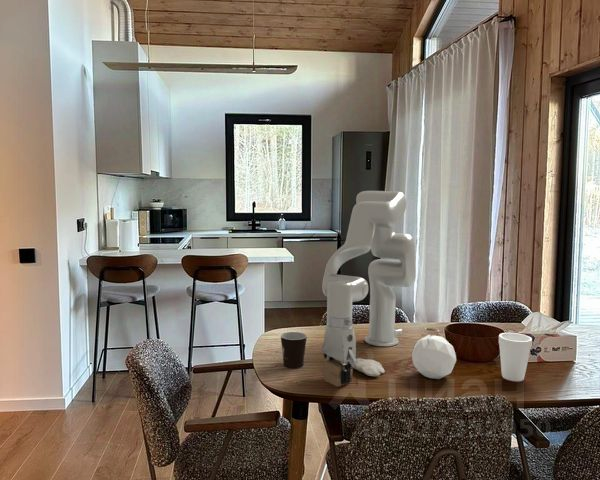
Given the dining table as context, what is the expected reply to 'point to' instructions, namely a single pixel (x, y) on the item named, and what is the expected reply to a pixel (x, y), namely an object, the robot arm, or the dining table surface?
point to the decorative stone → (369, 367)
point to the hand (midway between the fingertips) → (338, 378)
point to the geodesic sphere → (434, 356)
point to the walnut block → (334, 372)
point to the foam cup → (514, 355)
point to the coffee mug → (293, 349)
